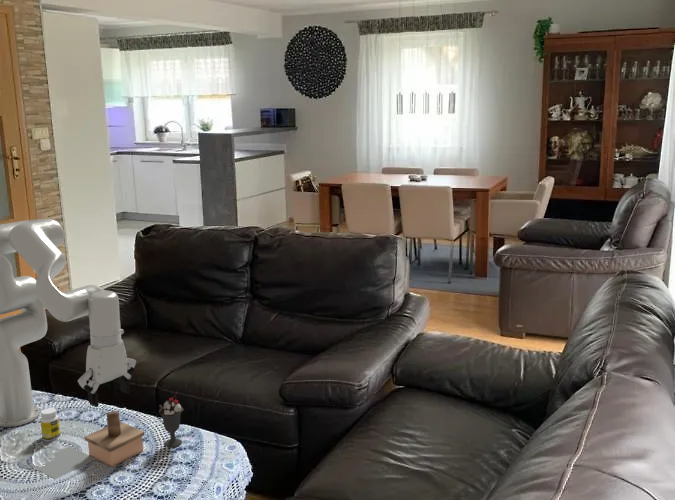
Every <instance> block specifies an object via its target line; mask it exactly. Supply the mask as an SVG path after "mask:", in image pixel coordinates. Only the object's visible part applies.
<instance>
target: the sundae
mask: <svg viewBox="0 0 675 500" xmlns="http://www.w3.org/2000/svg"><path fill="white" fill-rule="evenodd" d="M178 393H179V392H178V391H175V393H174V395H173V396H172V397H170V398H169V399H168V400H166V401H165V402H164V403H163V406H162V404H159V405H158V406H159V410H158V412H157V414H159V416H161V418H162V423H163V427H164V430H165V431H166V432H168V433H170V434H169V435H170V439H167V440H166V441H165V442H164V443H163V445H164V447H166V448H169V449H172V448H177V447H180V446H181V445H182V444H183V440H182V439H180V438H176V434H175V433H176V432H177V431H178V430H179V429H180V426H181V425H180V424H181V415H182V412H183V411H184V408H183V406H182V405H181V404H180V403H179V400H177V394H178ZM174 397H175V399H174Z"/></svg>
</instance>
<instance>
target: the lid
mask: <svg viewBox="0 0 675 500" xmlns="http://www.w3.org/2000/svg"><path fill="white" fill-rule="evenodd" d="M120 417H121V416H120V412H119V411H118V410H113V411H109V412H107V413H106V423H107V426H104V427H103V428H101V429H98V430H97V431H94V432H91V433H90V434H88V435H85V436H84V441H86V442H87V443H88V442H90V443H92V444H94V445H96V446H98V447H100V448H102V449H104V450H107V451H109V452H112V451H114V450H116V449H118V448H120V447H122V446H124V445H126V444H128V443H130V442H132V441H134V440H136V439H138V438H140V437H142V438H143V437H144V436H145V431H143V430H141V429H139V428H136V427H134V426H131V425H129V424H127V423H125V422H122V421H121V420H120Z"/></svg>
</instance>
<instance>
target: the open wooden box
mask: <svg viewBox="0 0 675 500" xmlns="http://www.w3.org/2000/svg"><path fill="white" fill-rule="evenodd" d="M143 443H144V442H143V436H142V437H140V438H138V439H136V440H134V441H132V442H130V443H128V444H126V445H124V446H122V447H120V448H118V449H116V450H114V451H112V452H109V451H107V450H104V449H102V448H100V447H98V446H96V445H94V444H92V443H90V442H88V441H87V444H88V455H89V456H91V457H93V458H95V460H97V461H100V462H101V463H104V464H105V465H107V466H109V467H111V468H113V467H115V466H117V465H120V464H121V463H123V462H125V461H126V460H128V459H130V458H132V457H134V456H137V455H138V454H140V453H142V452H144V446H143V445H144V444H143Z"/></svg>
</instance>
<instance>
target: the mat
mask: <svg viewBox="0 0 675 500" xmlns="http://www.w3.org/2000/svg"><path fill="white" fill-rule="evenodd" d="M52 454H54V456H55V458H52V459H54V460H52V461H50V462H46V463H45V464H43V465H45V466H42V467H39V466H35V465H34V464H33V462H31V463H30V464H28V466H30V467H32V468H34V469H35V470H37V471H40V472H41V473H43V474H45V475H47V476H49V477H50V478H52V479H53V480H57V479H58V478H60V477H62V476H65V475H66V474H69V473H71V472H72V471H75V470H76V469H77V470H78V469H79V468H81V467H82V466H85V465H87V464H88V463H91V462H93V461H95V460H96V459H95V458H93V457H91V456H89V454H87V453H86V452H83V451H82V450H80V449H77V448H75V447H73V446H71V445H69V446H66V447H64V448H62V449H59V450H58V451H55V452H53V453H52Z"/></svg>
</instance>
